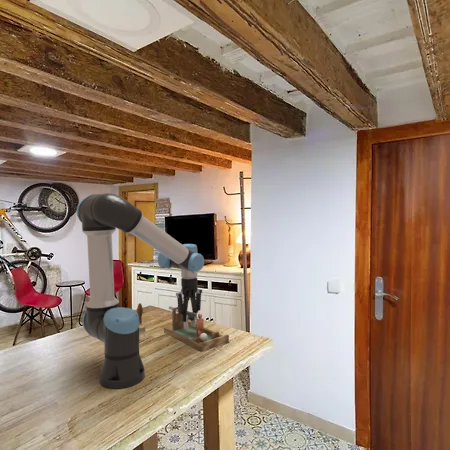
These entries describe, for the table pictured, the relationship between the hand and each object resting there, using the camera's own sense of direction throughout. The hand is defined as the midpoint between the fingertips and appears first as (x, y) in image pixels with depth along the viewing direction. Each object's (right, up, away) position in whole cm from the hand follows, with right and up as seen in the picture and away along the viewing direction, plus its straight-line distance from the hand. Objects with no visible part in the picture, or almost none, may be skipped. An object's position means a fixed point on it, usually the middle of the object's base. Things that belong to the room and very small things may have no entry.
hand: (189, 327), depth 156 cm
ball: (+7, -4, -8) cm, 11 cm away
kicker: (-3, -3, +3) cm, 5 cm away
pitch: (+3, -5, -3) cm, 6 cm away
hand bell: (-23, -5, 0) cm, 24 cm away
